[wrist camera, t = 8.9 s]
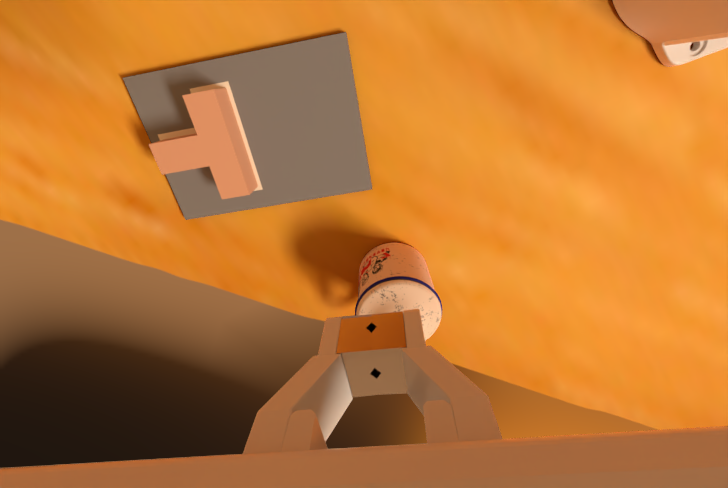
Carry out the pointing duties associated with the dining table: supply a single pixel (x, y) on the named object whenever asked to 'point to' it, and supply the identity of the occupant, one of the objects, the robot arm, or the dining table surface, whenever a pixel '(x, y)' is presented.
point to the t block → (210, 145)
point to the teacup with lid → (398, 285)
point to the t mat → (267, 123)
